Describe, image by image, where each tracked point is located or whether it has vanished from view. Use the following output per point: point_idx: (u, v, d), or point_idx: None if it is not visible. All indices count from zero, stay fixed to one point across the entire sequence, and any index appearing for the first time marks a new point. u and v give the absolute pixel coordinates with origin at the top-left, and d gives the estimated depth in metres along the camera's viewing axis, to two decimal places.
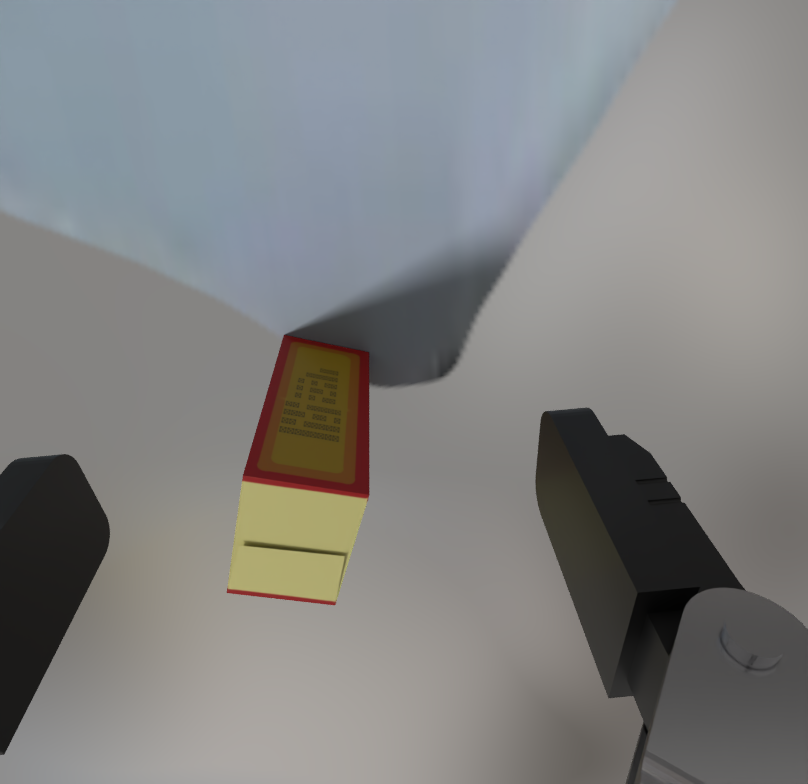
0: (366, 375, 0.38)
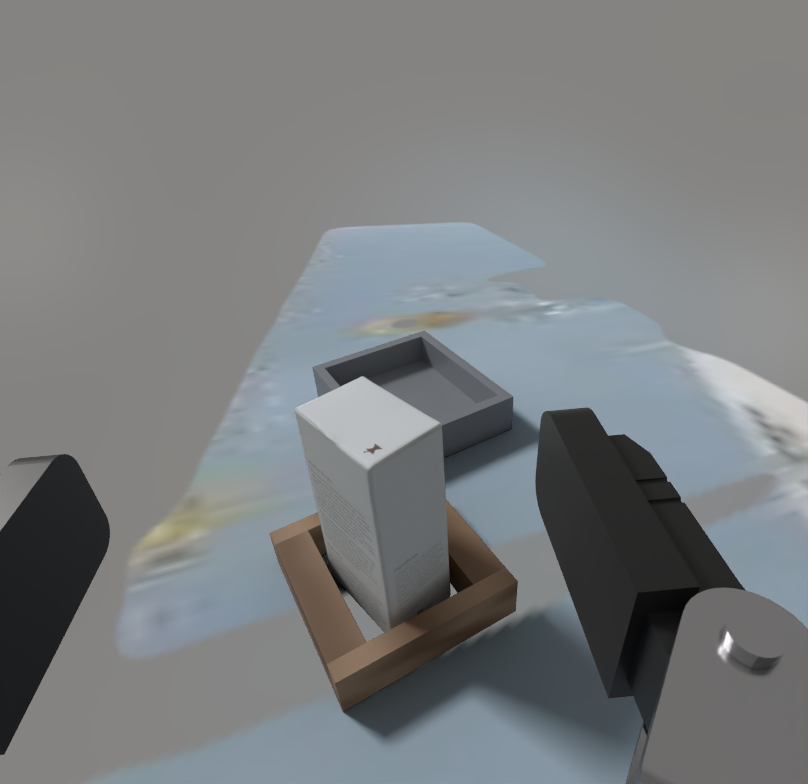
0: None
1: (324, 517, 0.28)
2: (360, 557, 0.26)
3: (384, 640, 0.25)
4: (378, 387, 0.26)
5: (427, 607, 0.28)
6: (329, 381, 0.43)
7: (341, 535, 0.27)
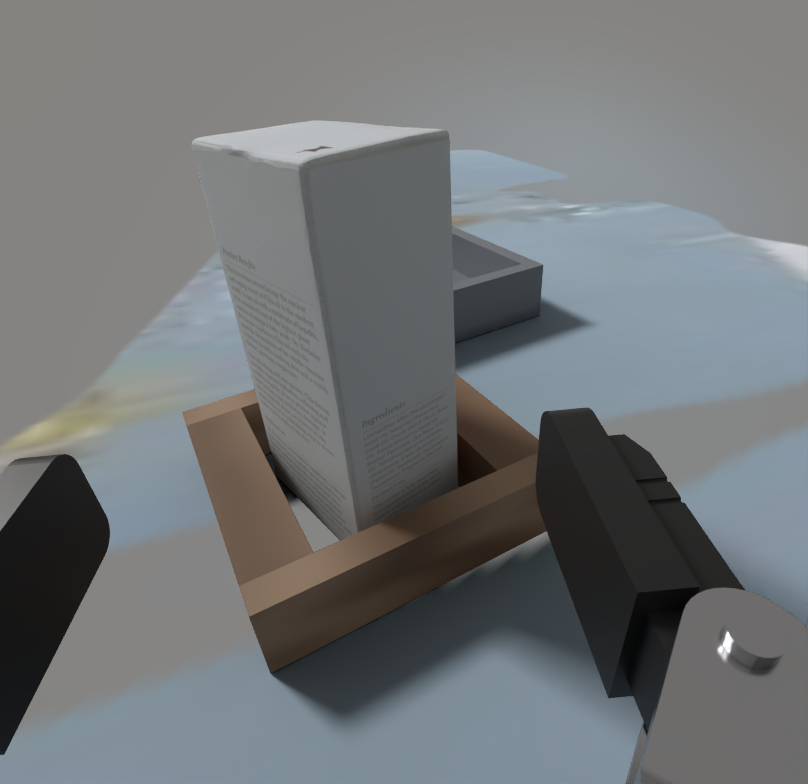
0: None
1: (255, 363, 0.17)
2: (308, 413, 0.15)
3: (344, 549, 0.14)
4: None
5: None
6: None
7: (278, 385, 0.16)
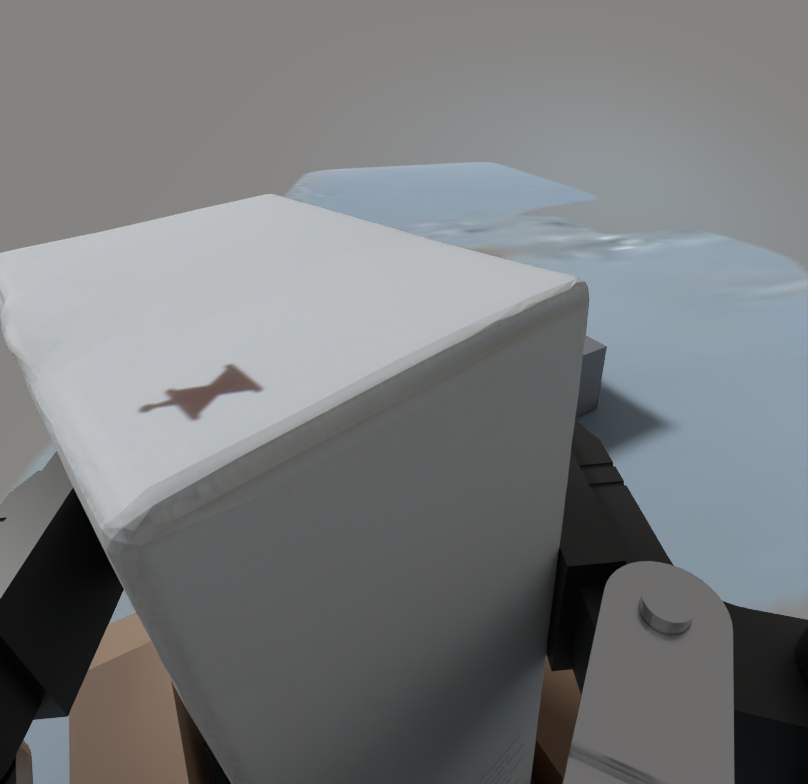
0: None
1: None
2: None
3: None
4: (314, 207, 0.07)
5: None
6: None
7: None
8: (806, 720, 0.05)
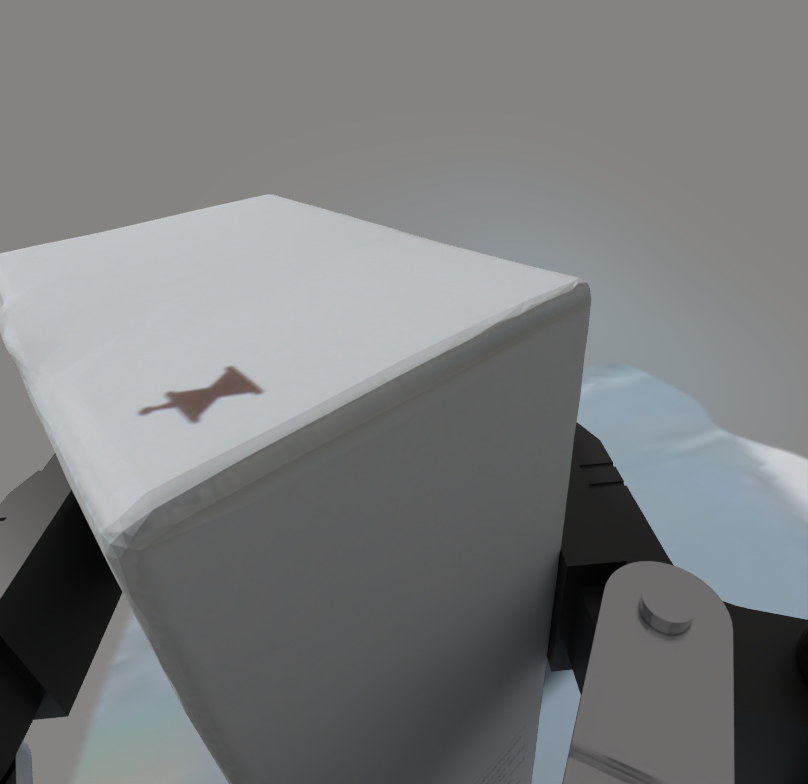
0: None
1: None
2: None
3: None
4: (313, 206, 0.07)
5: None
6: None
7: None
8: (806, 721, 0.05)
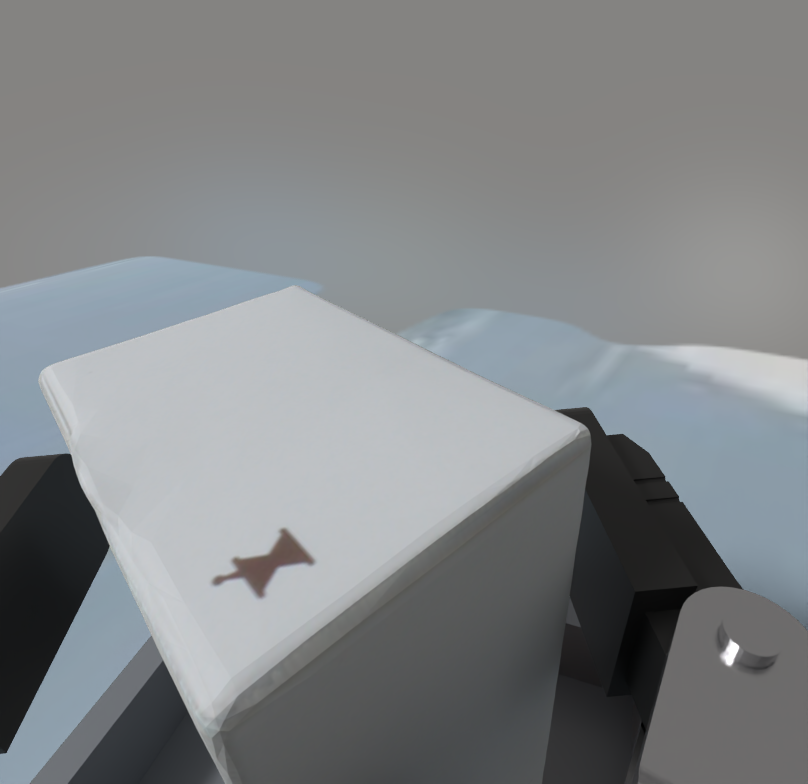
0: None
1: None
2: None
3: None
4: (337, 308, 0.08)
5: None
6: None
7: None
8: None
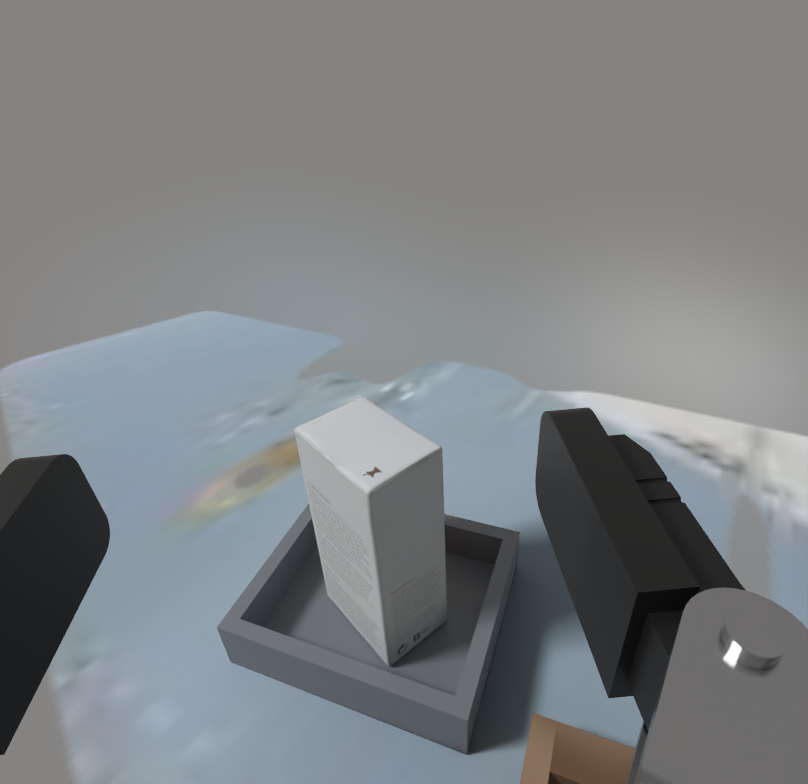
0: None
1: (321, 537, 0.28)
2: (357, 580, 0.26)
3: None
4: (378, 408, 0.26)
5: (423, 631, 0.28)
6: (271, 640, 0.26)
7: (338, 557, 0.27)
8: None
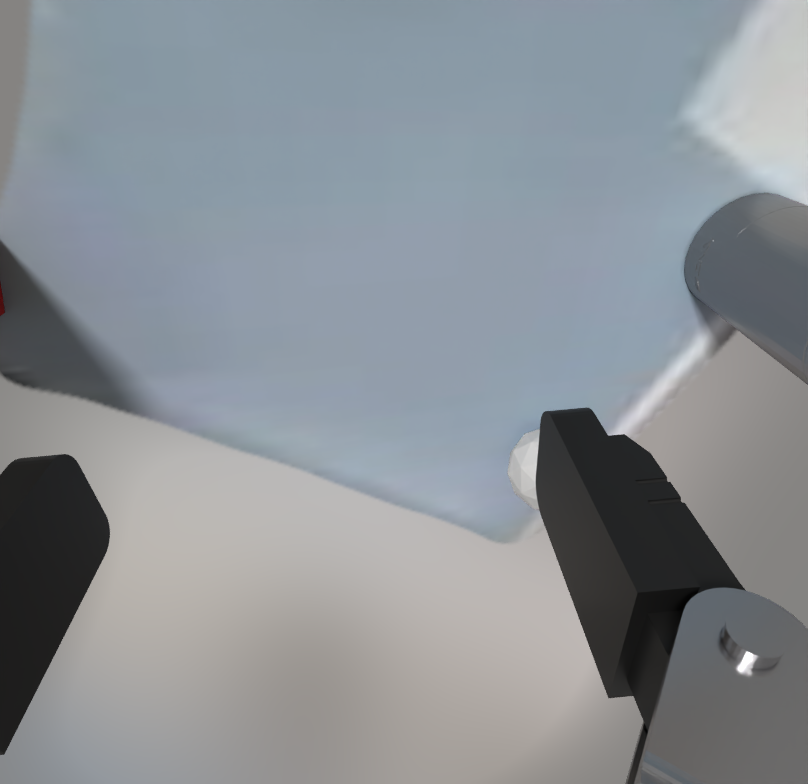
0: None
1: None
2: None
3: None
4: None
5: None
6: None
7: None
8: None
